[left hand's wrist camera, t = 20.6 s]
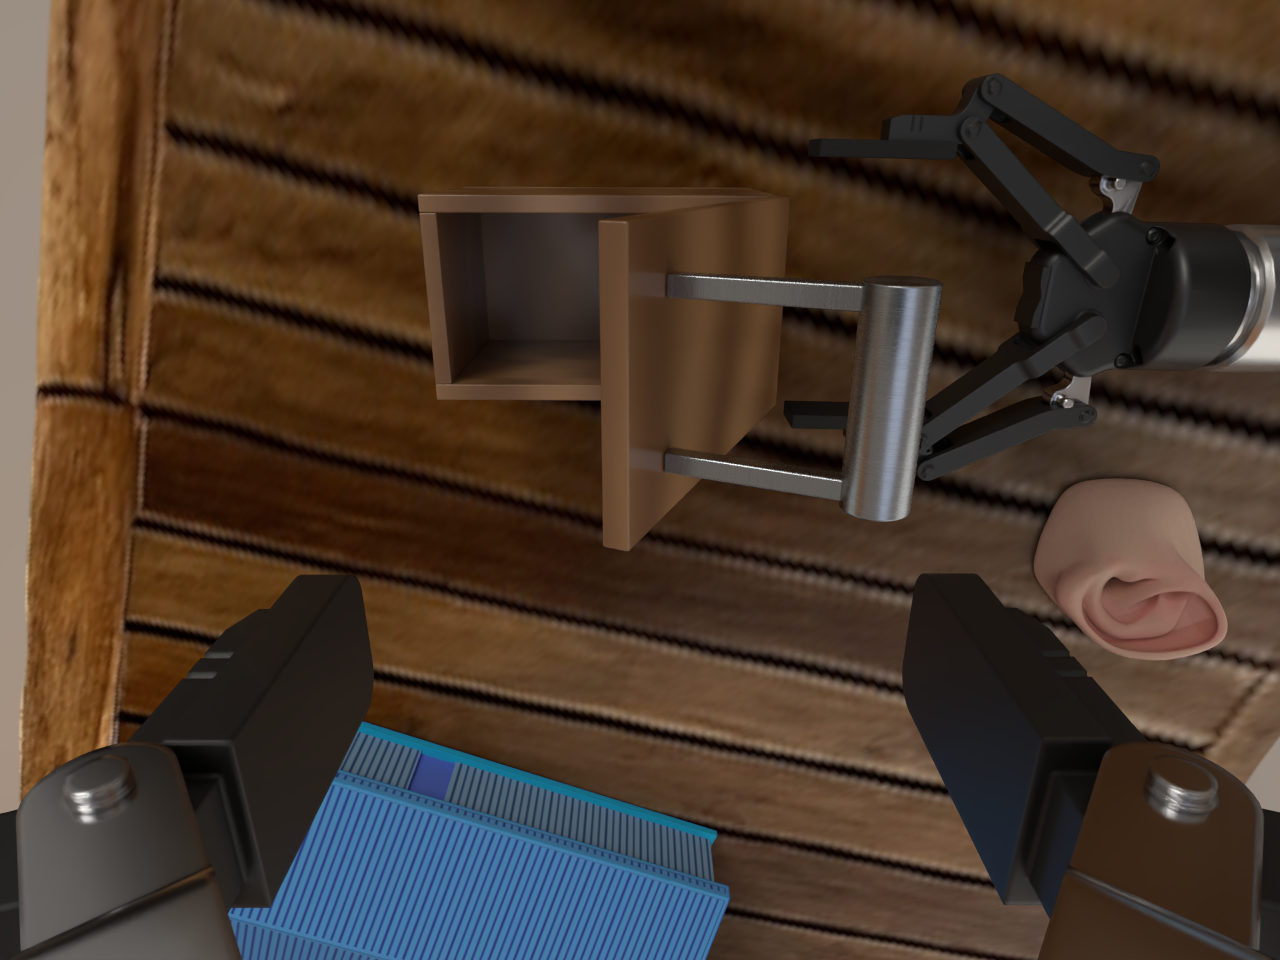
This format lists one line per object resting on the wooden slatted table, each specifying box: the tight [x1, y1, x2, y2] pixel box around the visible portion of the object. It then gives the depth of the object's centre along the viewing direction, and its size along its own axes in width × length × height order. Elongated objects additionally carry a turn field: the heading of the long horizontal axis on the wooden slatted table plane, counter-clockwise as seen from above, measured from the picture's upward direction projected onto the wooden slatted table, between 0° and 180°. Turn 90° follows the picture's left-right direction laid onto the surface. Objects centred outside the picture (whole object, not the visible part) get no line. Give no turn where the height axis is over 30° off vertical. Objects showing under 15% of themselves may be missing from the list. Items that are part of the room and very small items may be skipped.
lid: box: [598, 196, 943, 551], centre depth 28 cm, size 17×10×8 cm
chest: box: [418, 187, 777, 400], centre depth 43 cm, size 16×10×11 cm, turn 90°
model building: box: [228, 721, 730, 960], centre depth 61 cm, size 39×24×10 cm, turn 68°
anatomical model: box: [1033, 478, 1227, 660], centre depth 53 cm, size 13×4×12 cm
